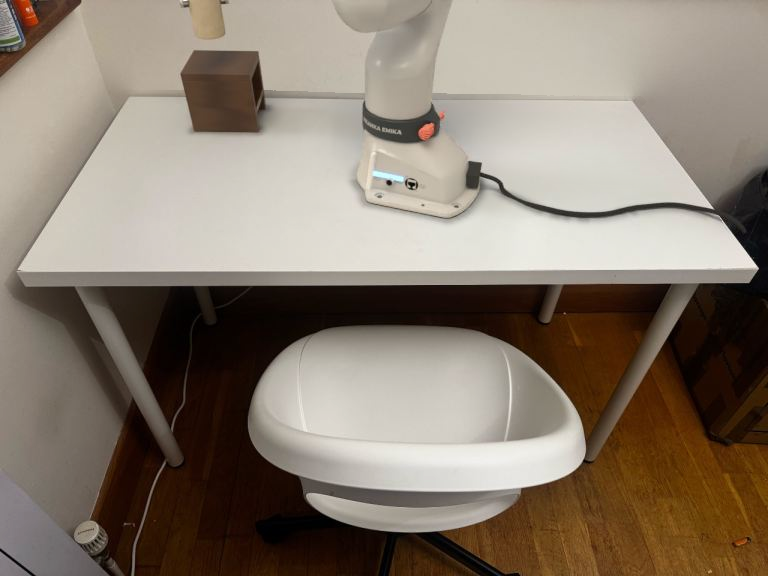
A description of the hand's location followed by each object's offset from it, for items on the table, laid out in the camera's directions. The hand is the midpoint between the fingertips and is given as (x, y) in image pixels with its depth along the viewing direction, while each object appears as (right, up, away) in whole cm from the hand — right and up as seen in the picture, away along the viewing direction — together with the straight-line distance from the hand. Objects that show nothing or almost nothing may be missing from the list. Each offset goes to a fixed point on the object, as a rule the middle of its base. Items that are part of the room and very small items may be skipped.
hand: (205, 4), depth 99 cm
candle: (0, -4, +4) cm, 6 cm away
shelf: (0, -15, +19) cm, 24 cm away
